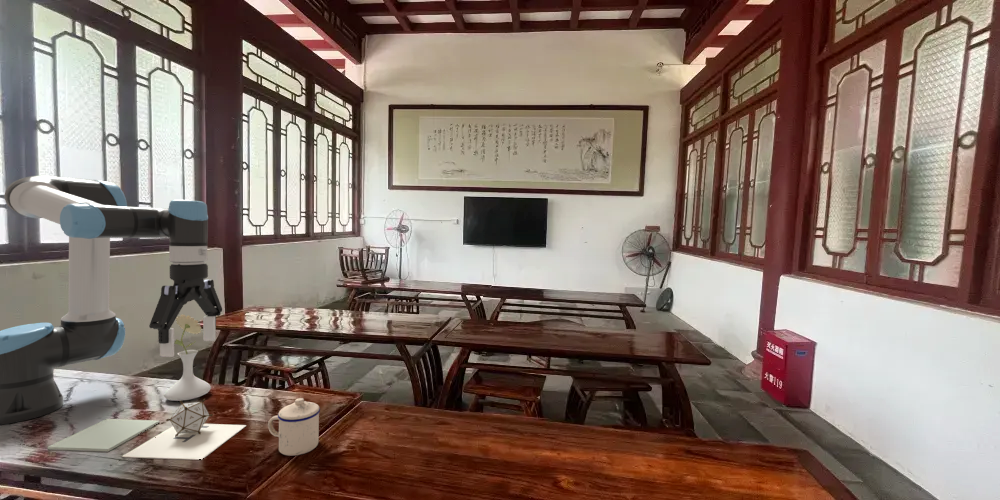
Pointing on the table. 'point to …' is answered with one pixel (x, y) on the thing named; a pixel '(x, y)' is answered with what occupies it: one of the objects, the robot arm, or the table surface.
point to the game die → (189, 417)
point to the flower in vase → (187, 367)
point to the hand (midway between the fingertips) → (189, 348)
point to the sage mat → (104, 435)
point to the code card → (186, 443)
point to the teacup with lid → (297, 427)
